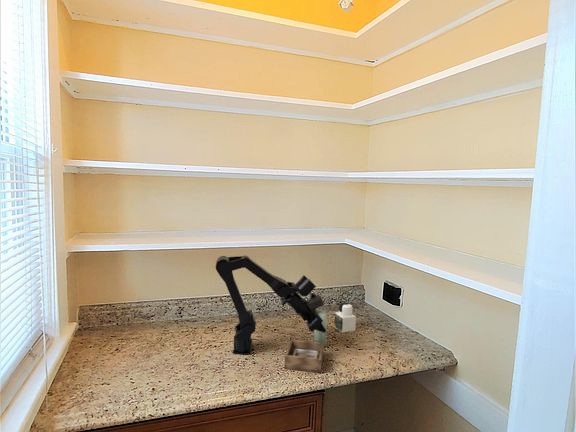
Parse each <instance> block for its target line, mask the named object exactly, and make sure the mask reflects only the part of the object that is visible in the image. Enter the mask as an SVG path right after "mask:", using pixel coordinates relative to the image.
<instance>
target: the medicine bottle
mask: <svg viewBox="0 0 576 432" xmlns="http://www.w3.org/2000/svg"><path fill="white" fill-rule="evenodd" d="M356 319H357V317H356V315H355V314H353V305H352V304H351V303H350V302H340V303H339V305H338V311H335V313H334V328H336V329H337V330H338V331H339V333H342V334H343V333H349V332H355V331H356V321H357V320H356Z"/></svg>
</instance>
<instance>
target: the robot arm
mask: <svg viewBox="0 0 576 432" xmlns="http://www.w3.org/2000/svg"><path fill="white" fill-rule="evenodd" d="M243 268H245V269H246V270H248V271H249V272H250V273H251V274H253V275H254V276H256V277H257V278H259V279H260V280H261V281H263V282H264V283H265V284H267V285H268V286H269V288H270V289H271V290H272V291H273V292H274V293H275V294H276V295H277V296H278V297H280V304H281V305H282V306H285V305H286V304H287V305H288V306H289V307H291V309H292V310H294V312H295V314H296V315H299V316H300V318H302V320H303V321H304V322H305V321H306V327H307V329H308V330H309V331H310V332H311V333H312V332H313V333H314V330H318V331H321V332H324V333H325V332H326V333H327V328H326V329H325V328H324V326H323V325H322V324H321V323H322V322H323V320H322V318H321V317H320V316H319V315H318V314H315V310H317V309H318V308H320V307H323V306H324V305H325V303H324V300H323V299H322V296H321V295H320V294H316V293H314V292H312V291H314V289H316V287H317V286H316V284H314V282H313V281H312V280H311V279H310V278H308V277H307V276H306V275H302V277H300V279H299V280H298V281H297V282H291V281H286V280H285V279H283V278H281V277H279V276H277V275H274V274H272V273H271V272H269V271H267V269H265V268H264V267H263V266H261V265H259V264H258V263H256V261H254V260H252V258H250V256H248V255H240V256H239V255H238V256H236V255H235V256H226V255H222V256H221V255H220V256H219V257H217V259H216V260H215V270H216V272H217V274H218V275H219V277H220V278H221V280H222V281H223V282H224V284H225V285H226V288H227V291H228V294H229V295H230V299H231V300H232V303H233V305H234V309H235V310H236V313H237V315H238V321H239V323H237V324H236V325H235V326H234V330H235V331H234V333H235V334H234V336H233V350H232V354H236V355H245V356H248V355H249V354H250V352H251V351H252V350H253V338H252V334H253V333H254V332H255V331H256V327H257V326H256V325H257V319H256V317H255V316H254V313H253V309H250V310H249V309H248V308H247V307H246V304H245V301H244V299H243V297H242V294H241V292H240V289H239V286H238V284H237V282H236V280H235V277H234V272H233V271H237V270H240V269H243ZM308 295H309V299H305V298H304V297H308Z"/></svg>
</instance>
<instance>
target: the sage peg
mask: <svg viewBox="0 0 576 432" xmlns="http://www.w3.org/2000/svg"><path fill="white" fill-rule="evenodd" d="M315 314H318V315H319V316H320V317H321V318H322V320H323V322H322V323H321V324H322V325H323V326H324V328H325V329H326V330H327V329H328V328H327V326H328V324H327V323H328V320H327V319H328V311H327V310H325V309H320V308H319V309H315ZM313 342H318V343H324V347H326V345H327V331H326V332H325V333H324V332H321V331H318V330H314V331H313Z"/></svg>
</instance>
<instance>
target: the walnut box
mask: <svg viewBox="0 0 576 432" xmlns="http://www.w3.org/2000/svg"><path fill="white" fill-rule="evenodd" d="M324 348H325V346H324V343H318V342H314V341H306V340H295V339H291V340H290V341H289V343H288V346H287V350H286V352H285V354H284V370H288V371H289V370H290V371H297V372H307V373H315V374H316V373H317V374H321V373H322V368H323V367H322V366H323V361H324V360H323V359H324V352H325V351H324Z"/></svg>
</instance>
